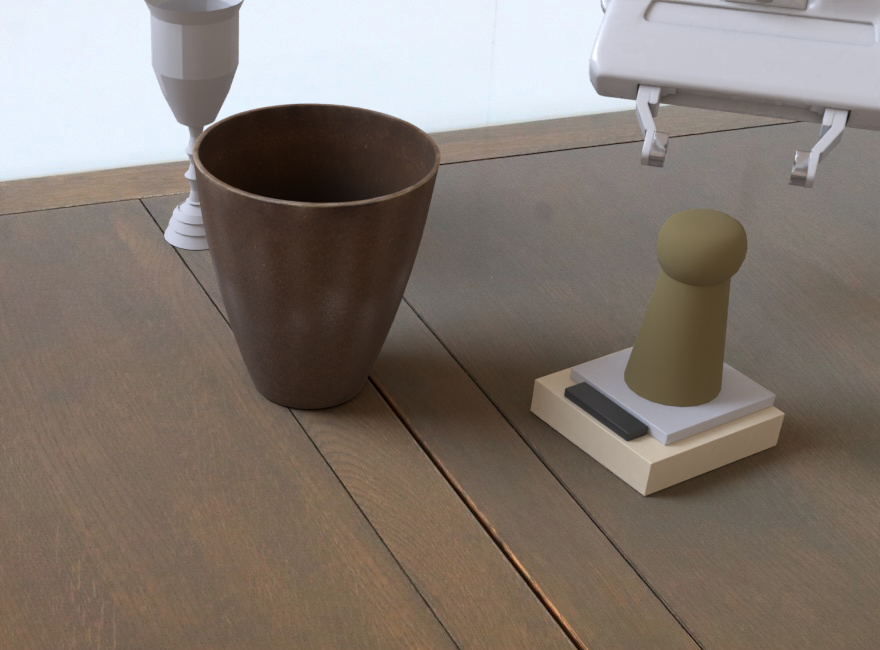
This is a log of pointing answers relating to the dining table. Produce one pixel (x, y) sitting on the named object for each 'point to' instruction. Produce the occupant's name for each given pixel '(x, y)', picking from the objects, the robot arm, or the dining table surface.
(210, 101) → the chalice
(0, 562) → the dining table surface
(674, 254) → the olive pawn
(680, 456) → the scale
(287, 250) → the flower pot
